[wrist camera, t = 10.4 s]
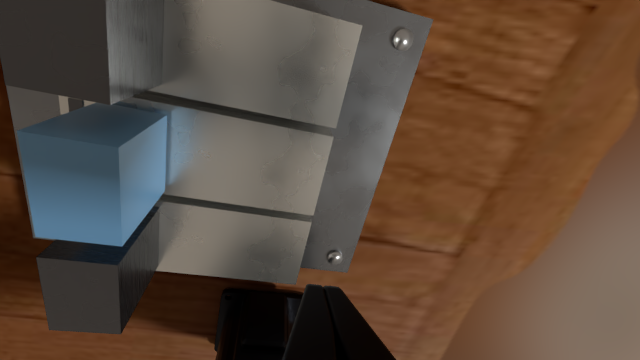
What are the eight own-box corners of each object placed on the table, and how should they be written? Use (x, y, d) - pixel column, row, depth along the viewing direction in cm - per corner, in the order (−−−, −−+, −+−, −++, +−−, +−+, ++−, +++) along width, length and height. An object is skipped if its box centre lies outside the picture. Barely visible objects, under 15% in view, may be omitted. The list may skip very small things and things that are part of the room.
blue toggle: (164, 190, 14) (122, 246, 10) (103, 181, 13) (35, 236, 10) (167, 114, 12) (118, 147, 9) (98, 101, 12) (16, 130, 8)
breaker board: (343, 258, 23) (373, 372, 15) (51, 223, 19) (-107, 351, 11) (420, 20, 16) (542, 7, 9) (4, -100, 13) (-431, -310, 5)
